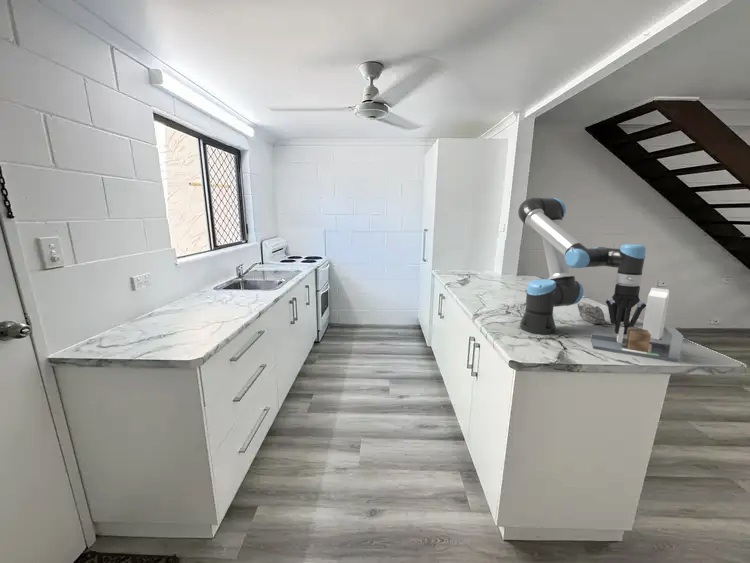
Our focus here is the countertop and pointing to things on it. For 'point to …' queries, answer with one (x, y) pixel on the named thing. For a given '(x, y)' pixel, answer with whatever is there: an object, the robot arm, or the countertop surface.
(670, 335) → the grey metal block
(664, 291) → the milk
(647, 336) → the block
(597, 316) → the rock
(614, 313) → the dixie cup
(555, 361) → the countertop surface
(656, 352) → the gauge track
